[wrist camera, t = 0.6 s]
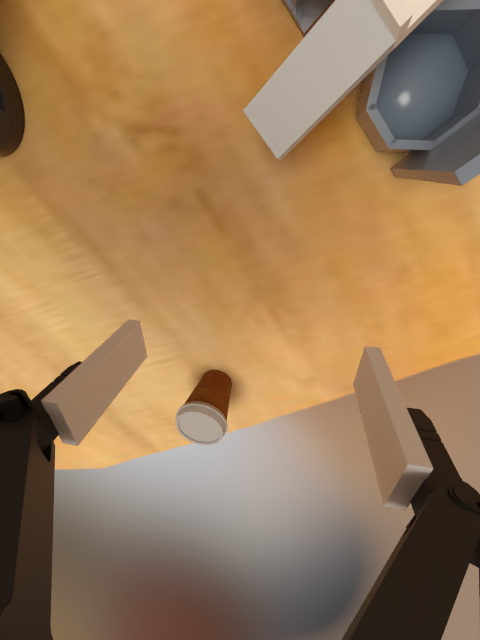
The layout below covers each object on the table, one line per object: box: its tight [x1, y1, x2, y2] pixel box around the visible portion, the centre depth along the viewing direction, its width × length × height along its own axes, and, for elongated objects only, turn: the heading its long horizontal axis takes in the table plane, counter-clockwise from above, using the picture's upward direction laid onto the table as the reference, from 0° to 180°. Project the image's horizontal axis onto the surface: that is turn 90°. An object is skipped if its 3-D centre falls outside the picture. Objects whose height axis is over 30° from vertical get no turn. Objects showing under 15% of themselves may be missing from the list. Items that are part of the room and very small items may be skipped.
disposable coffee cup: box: [176, 370, 232, 445], centre depth 51 cm, size 10×10×12 cm
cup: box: [356, 0, 480, 186], centre depth 22 cm, size 12×11×16 cm
